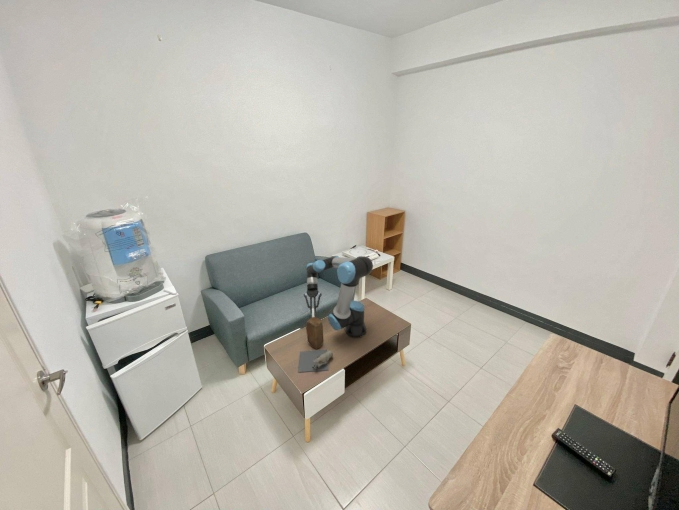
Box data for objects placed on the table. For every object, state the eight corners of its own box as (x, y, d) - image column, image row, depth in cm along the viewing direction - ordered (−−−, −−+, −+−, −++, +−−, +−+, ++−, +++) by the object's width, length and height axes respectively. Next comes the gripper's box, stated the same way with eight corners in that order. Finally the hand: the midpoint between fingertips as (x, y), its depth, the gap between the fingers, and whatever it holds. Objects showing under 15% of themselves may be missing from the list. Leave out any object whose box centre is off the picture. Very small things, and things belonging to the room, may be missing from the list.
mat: (327, 350, 178) (327, 349, 178) (328, 370, 163) (328, 369, 163) (299, 352, 177) (299, 351, 177) (298, 372, 162) (298, 372, 161)
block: (324, 345, 183) (323, 320, 175) (316, 351, 178) (314, 326, 170) (314, 337, 190) (312, 313, 182) (305, 343, 185) (303, 318, 177)
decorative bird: (335, 358, 171) (335, 348, 168) (317, 373, 160) (316, 364, 157) (329, 354, 174) (328, 345, 171) (310, 369, 163) (310, 359, 160)
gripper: (321, 285, 198) (323, 318, 189) (303, 286, 197) (304, 319, 188) (321, 282, 191) (322, 316, 182) (302, 283, 190) (303, 317, 181)
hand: (313, 317), depth 185 cm, fingers closed
